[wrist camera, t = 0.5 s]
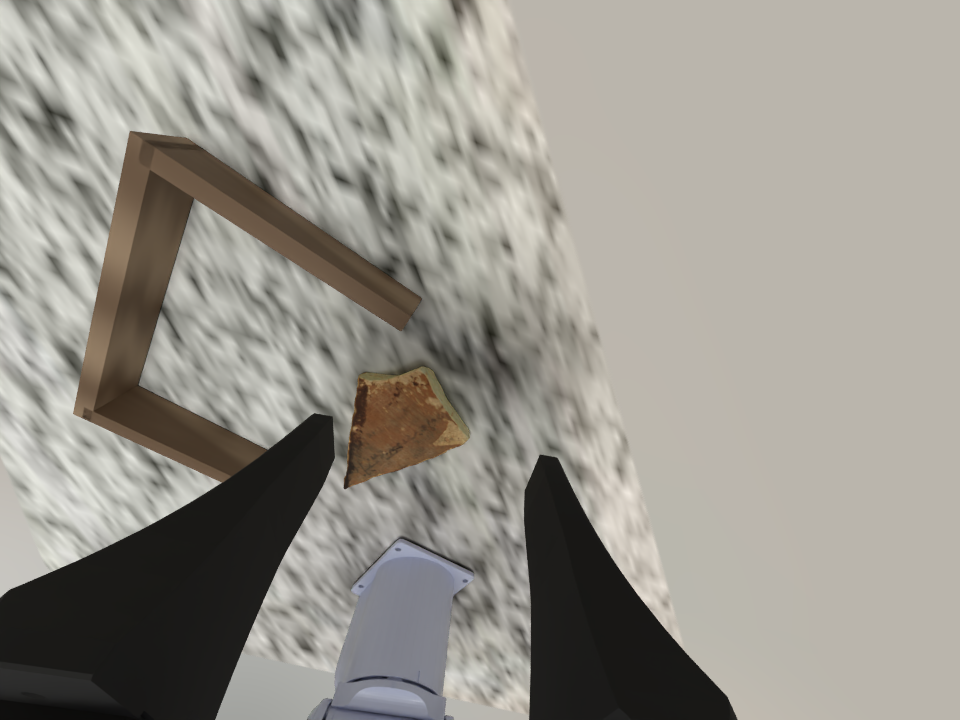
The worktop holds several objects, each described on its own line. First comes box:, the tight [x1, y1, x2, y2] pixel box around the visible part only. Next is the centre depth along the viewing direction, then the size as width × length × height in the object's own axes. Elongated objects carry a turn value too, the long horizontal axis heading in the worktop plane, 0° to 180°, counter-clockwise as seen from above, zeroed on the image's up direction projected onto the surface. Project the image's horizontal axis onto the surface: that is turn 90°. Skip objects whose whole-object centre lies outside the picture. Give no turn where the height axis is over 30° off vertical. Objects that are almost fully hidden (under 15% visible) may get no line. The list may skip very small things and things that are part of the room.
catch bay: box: [73, 131, 422, 482], centre depth 21 cm, size 18×14×3 cm
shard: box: [344, 367, 470, 489], centre depth 24 cm, size 11×8×2 cm
